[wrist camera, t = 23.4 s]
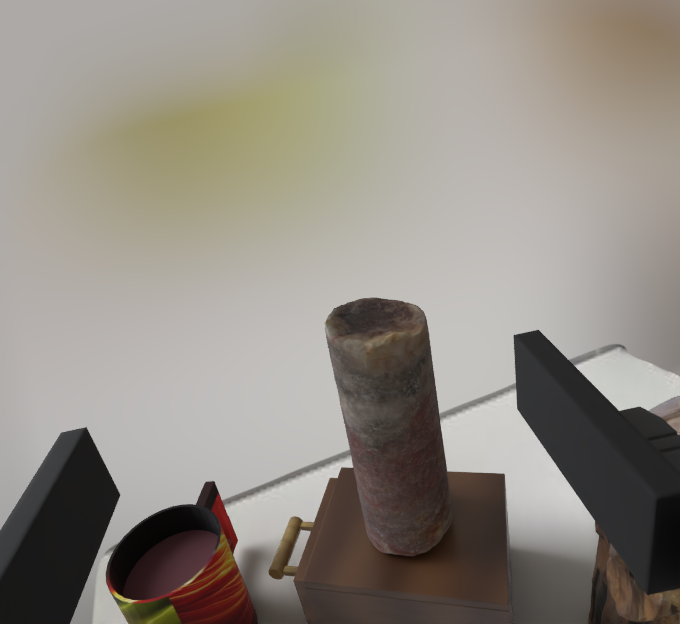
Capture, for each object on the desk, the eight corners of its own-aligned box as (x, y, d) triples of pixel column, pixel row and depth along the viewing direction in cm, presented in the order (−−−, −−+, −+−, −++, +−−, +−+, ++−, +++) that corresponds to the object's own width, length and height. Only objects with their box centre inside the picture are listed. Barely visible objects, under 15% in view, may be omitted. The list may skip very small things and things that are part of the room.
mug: (240, 544, 58) (208, 462, 52) (268, 660, 45) (230, 568, 40) (152, 582, 55) (110, 500, 50) (157, 715, 43) (102, 625, 38)
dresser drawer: (269, 632, 47) (247, 575, 43) (307, 529, 57) (291, 476, 53) (483, 664, 41) (476, 600, 38) (484, 543, 51) (479, 484, 48)
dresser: (326, 654, 45) (302, 581, 41) (357, 534, 56) (341, 467, 52) (515, 683, 40) (509, 604, 36) (509, 546, 51) (504, 473, 47)
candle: (400, 479, 49) (365, 286, 40) (471, 511, 44) (448, 299, 35) (349, 536, 44) (297, 331, 35) (422, 579, 39) (382, 354, 31)
